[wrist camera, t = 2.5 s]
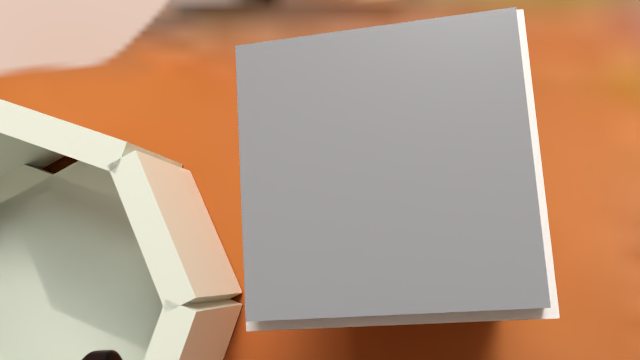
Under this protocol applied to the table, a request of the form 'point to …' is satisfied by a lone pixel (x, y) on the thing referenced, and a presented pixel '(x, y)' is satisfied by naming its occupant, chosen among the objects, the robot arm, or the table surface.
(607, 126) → the table surface
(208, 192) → the table surface
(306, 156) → the pebble canister
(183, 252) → the sage bowl
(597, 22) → the table surface
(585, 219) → the table surface
